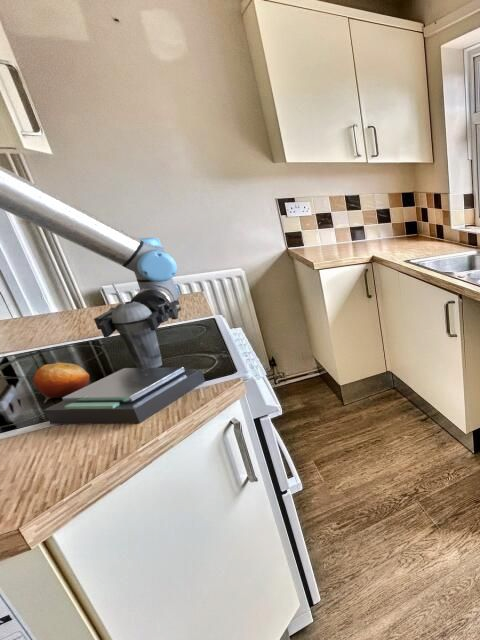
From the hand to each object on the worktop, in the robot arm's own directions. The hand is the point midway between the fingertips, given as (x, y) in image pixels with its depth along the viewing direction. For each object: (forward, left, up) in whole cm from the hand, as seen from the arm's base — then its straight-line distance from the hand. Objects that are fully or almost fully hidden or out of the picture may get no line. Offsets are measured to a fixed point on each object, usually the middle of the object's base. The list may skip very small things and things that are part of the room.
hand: (128, 327), depth 91 cm
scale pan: (+7, -11, -9) cm, 15 cm away
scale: (+7, -11, -12) cm, 17 cm away
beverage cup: (-2, +4, -11) cm, 12 cm away
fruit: (-11, -7, -12) cm, 18 cm away
